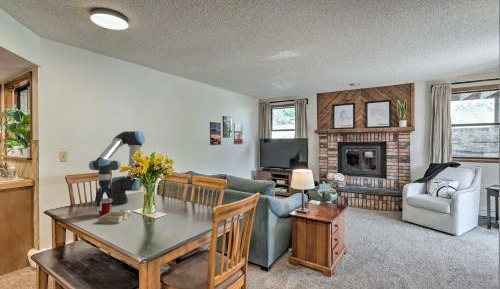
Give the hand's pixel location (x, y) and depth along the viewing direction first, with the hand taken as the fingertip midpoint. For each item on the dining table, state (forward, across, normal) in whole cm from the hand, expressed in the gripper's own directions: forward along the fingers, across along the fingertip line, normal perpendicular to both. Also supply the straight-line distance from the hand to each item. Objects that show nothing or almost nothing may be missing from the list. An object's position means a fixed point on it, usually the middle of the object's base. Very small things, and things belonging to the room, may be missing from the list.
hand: (104, 208), depth 188 cm
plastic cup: (+6, 0, 0) cm, 6 cm away
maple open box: (+5, +10, +14) cm, 18 cm away
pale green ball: (+6, -2, +15) cm, 16 cm away
